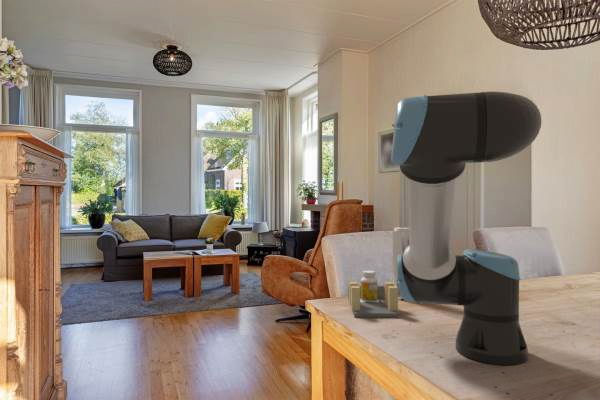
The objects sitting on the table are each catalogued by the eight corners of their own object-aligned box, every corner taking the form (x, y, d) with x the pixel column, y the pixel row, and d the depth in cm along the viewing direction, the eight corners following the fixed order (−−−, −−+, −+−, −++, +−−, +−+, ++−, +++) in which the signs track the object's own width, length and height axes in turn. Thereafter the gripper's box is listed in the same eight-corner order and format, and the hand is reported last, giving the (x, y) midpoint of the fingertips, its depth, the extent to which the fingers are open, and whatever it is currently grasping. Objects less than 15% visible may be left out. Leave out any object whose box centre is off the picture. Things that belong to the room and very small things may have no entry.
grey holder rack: (399, 317, 122) (399, 290, 122) (352, 317, 123) (352, 289, 123) (387, 300, 142) (387, 276, 142) (346, 300, 143) (346, 276, 143)
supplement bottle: (358, 299, 139) (358, 270, 139) (372, 297, 141) (372, 269, 141) (365, 303, 134) (365, 273, 134) (380, 301, 135) (380, 272, 135)
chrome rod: (409, 295, 149) (409, 226, 149) (412, 300, 143) (412, 228, 142) (391, 295, 150) (391, 226, 150) (393, 299, 143) (393, 228, 143)
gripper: (457, 150, 104) (457, 233, 104) (428, 158, 129) (428, 226, 129) (427, 150, 104) (427, 233, 105) (404, 158, 129) (404, 226, 130)
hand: (428, 229), depth 117 cm, fingers open, 13 cm apart
